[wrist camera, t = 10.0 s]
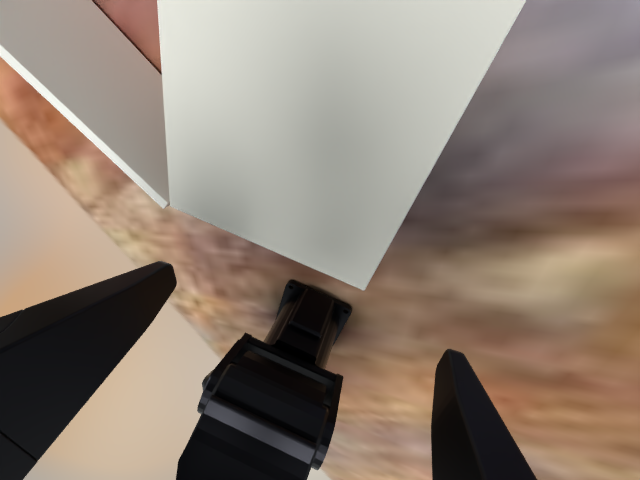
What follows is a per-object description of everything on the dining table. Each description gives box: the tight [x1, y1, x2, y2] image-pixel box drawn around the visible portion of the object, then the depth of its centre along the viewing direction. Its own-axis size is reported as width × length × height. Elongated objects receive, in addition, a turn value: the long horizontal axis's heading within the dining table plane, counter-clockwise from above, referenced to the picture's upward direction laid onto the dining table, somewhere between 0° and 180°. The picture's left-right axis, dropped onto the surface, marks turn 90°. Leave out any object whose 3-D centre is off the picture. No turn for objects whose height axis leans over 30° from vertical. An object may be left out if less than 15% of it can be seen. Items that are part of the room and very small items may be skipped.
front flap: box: [0, 0, 170, 209], centre depth 15 cm, size 14×1×11 cm, turn 43°
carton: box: [157, 0, 526, 290], centre depth 14 cm, size 14×11×8 cm
